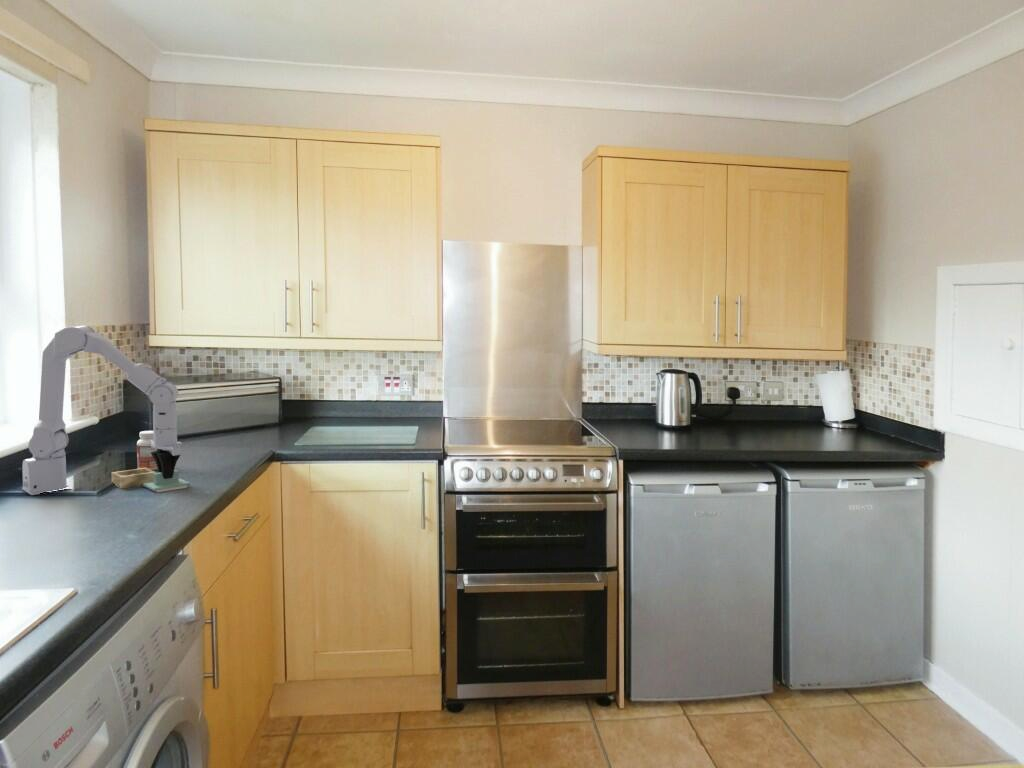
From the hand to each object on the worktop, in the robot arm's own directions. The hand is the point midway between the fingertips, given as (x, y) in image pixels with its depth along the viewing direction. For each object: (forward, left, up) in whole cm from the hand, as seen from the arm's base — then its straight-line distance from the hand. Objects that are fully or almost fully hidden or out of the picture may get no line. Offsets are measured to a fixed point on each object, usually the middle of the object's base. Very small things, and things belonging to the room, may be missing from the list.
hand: (166, 477), depth 199 cm
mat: (0, 0, -3) cm, 3 cm away
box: (-5, +9, -3) cm, 11 cm away
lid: (0, 0, -2) cm, 2 cm away
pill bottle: (+5, +25, -3) cm, 25 cm away
